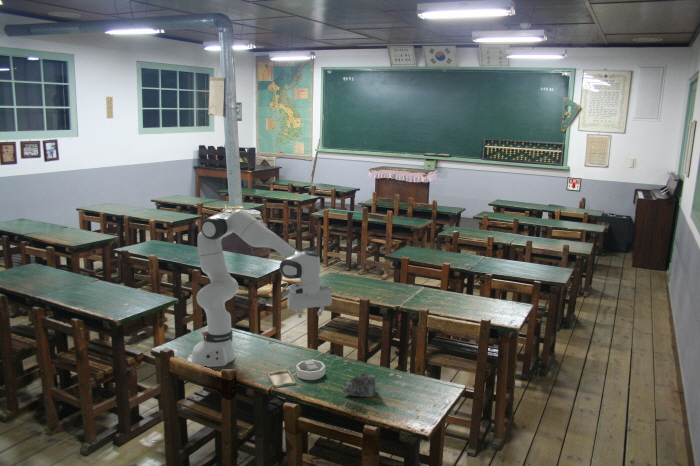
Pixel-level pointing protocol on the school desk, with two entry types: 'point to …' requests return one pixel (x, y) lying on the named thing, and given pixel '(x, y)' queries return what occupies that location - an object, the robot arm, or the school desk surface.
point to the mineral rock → (361, 386)
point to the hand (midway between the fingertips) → (309, 316)
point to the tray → (281, 378)
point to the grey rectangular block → (312, 368)
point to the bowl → (313, 374)
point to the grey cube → (308, 362)
